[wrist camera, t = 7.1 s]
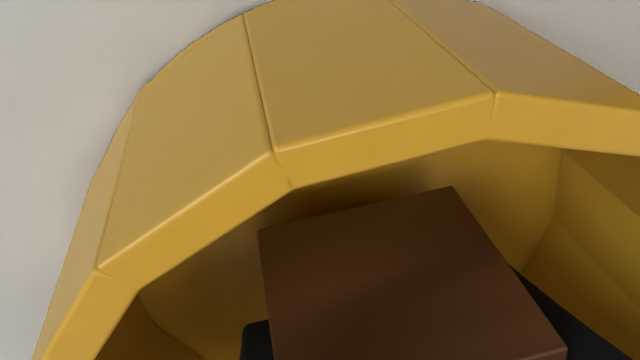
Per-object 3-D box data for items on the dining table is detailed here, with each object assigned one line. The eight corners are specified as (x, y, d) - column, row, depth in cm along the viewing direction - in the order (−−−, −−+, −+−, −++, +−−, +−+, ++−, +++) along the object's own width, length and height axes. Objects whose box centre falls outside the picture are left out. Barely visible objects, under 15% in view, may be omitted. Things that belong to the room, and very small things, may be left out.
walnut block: (452, 184, 11) (569, 348, 7) (449, 314, 13) (536, 483, 10) (256, 228, 10) (281, 423, 7) (290, 353, 13) (322, 544, 9)
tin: (661, 34, 12) (940, 153, 7) (470, 371, 18) (557, 545, 13) (87, -78, 8) (-45, 15, 4) (99, 383, 15) (54, 617, 10)
